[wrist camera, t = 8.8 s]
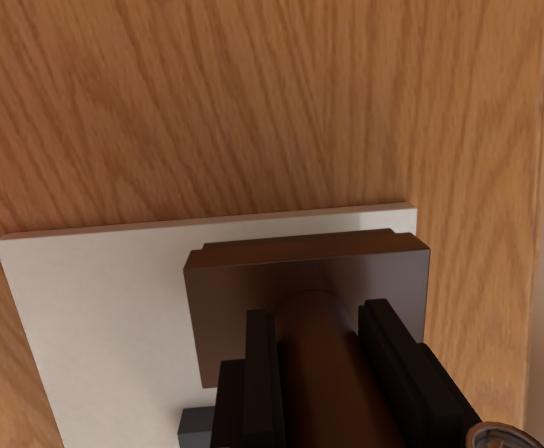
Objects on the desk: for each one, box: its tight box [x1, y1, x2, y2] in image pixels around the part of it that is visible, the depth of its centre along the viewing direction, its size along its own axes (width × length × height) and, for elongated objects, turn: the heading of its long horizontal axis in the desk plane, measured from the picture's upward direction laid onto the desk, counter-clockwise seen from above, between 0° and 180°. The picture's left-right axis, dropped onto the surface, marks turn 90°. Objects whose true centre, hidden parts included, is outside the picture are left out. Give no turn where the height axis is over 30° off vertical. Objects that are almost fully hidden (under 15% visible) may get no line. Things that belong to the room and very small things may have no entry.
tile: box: [0, 202, 417, 448], centre depth 18 cm, size 18×16×1 cm
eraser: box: [177, 406, 215, 448], centre depth 18 cm, size 5×2×2 cm, turn 94°
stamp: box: [183, 228, 431, 448], centre depth 9 cm, size 8×4×10 cm, turn 94°
